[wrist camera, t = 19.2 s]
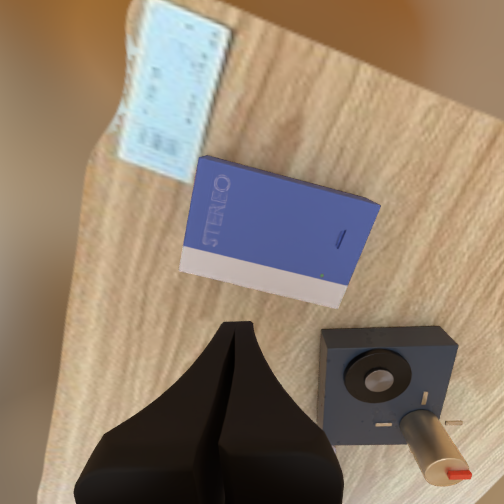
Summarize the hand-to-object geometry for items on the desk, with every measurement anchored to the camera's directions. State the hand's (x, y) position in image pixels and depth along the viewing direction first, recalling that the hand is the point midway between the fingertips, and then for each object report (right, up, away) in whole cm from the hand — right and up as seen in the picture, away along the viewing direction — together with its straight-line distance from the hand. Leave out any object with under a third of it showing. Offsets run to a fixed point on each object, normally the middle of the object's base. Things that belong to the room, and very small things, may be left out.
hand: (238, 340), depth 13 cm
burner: (+11, -6, +10) cm, 16 cm away
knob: (+15, -11, +12) cm, 22 cm away
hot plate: (+13, -8, +14) cm, 20 cm away
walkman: (+8, +4, +8) cm, 12 cm away
